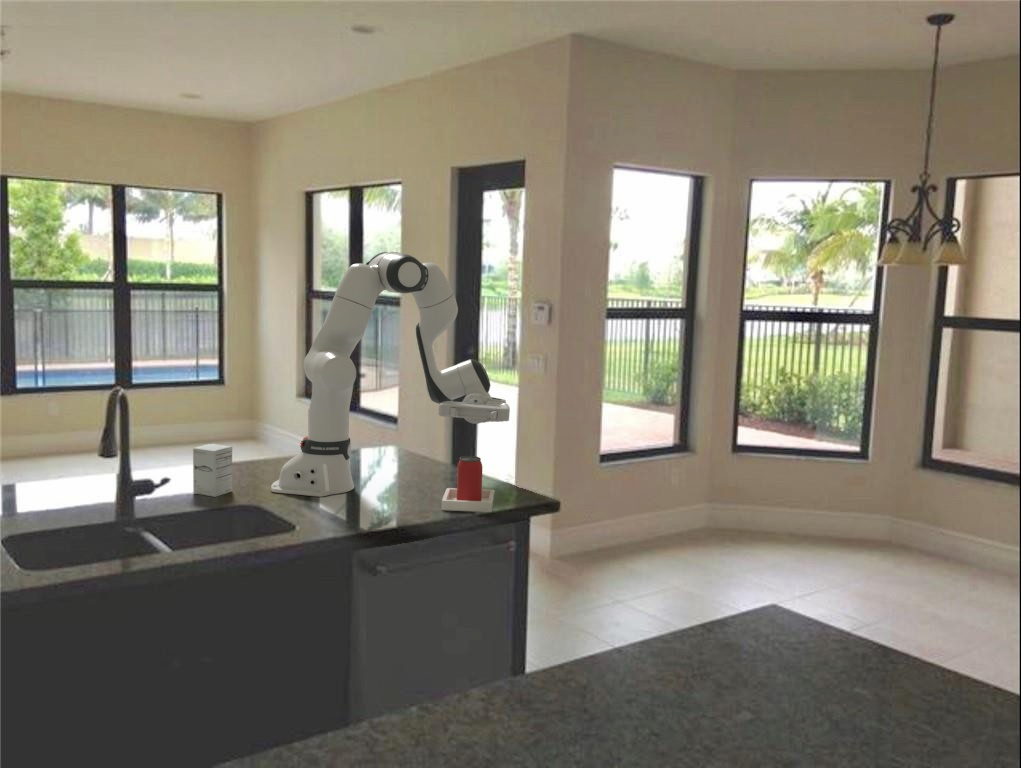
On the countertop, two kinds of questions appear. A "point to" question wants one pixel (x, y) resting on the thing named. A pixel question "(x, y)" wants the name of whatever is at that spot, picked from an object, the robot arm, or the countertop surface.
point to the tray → (467, 502)
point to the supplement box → (212, 470)
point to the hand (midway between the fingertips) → (472, 415)
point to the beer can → (469, 479)
